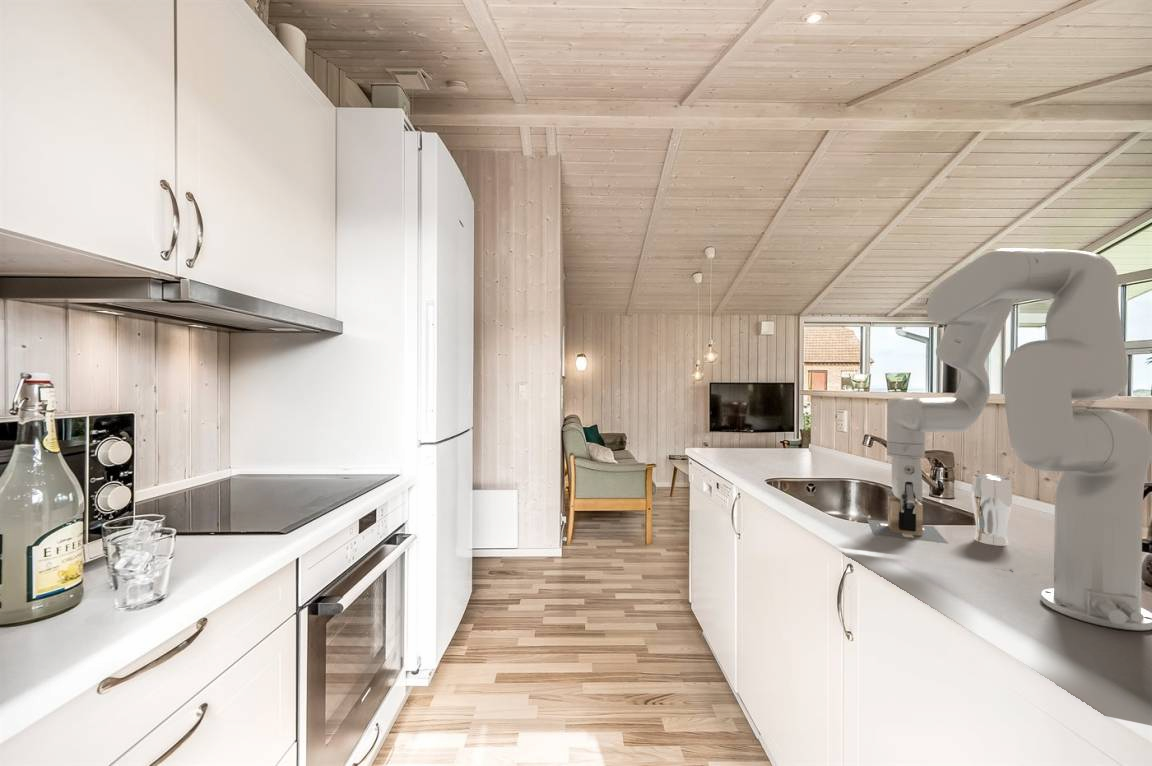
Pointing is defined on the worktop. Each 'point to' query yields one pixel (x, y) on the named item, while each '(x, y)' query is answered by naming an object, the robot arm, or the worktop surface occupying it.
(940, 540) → the letter mat
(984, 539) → the beer glass
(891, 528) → the oak block
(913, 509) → the robot arm
